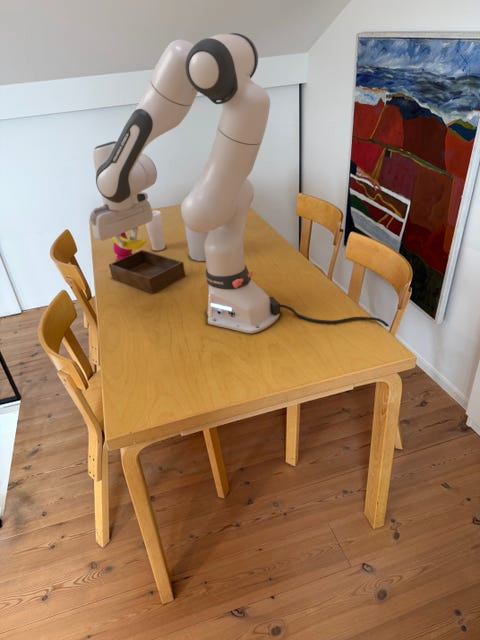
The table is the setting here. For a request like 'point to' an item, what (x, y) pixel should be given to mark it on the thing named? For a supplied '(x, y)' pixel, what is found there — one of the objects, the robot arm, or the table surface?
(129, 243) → the banana
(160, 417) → the table surface
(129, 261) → the tray
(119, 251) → the pepper mill
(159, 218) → the drinking glass
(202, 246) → the utensil holder
